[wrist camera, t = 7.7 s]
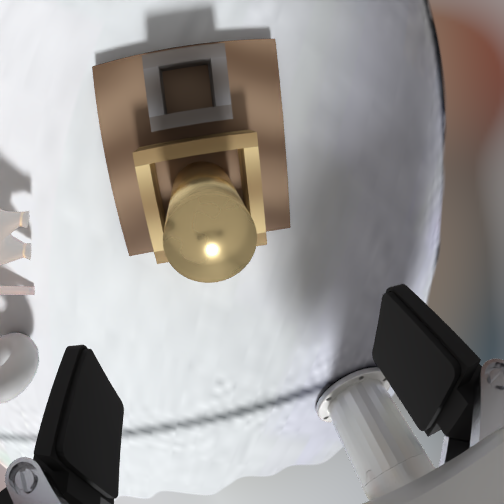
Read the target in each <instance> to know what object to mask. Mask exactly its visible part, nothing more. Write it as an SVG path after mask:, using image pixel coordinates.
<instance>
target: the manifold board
mask: <svg viewBox="0 0 504 504" xmlns="http://www.w3.org/2000/svg"><path fill="white" fill-rule="evenodd" d="M92 69H93V79H94V88H95V96H96V104H97V111H98V117H99V124H100V130H101V136H102V142H103V147H104V153H105V158H106V163H107V168H108V173H109V177H110V182H111V187H112V191H113V195H114V200H115V204H116V208H117V212H118V216H119V220H120V224H121V227H122V231H123V235H124V239H125V242H126V246H127V249H128V253H129V256H132V255H138V254H143V253H148V252H154V254H155V257H156V261H157V264H160V263H165V262H169V261H168V259H167V257H166V255H165V252H164V248H163V232H164V227H165V222H166V216H167V211H168V206H169V201H170V197H171V192H172V187H173V183H174V180H175V178H176V176H177V174H178V173H179V172H180V170H182V169H183V168H184V167H185V166H187V165H189V164H191V163H193V162H197V161H208V162H212V163H214V164H216V165H218V166H220V167H221V168H222V169H223V170H224V171H225V172H226V174H227V175H228V177H229V179H230V180H231V182H232V184H233V186H234V187H235V189H236V191H237V193H238V194H239V196H240V198H241V200H242V201H243V203H244V205H245V207H246V208H247V210H248V212H249V214H250V215H251V217H252V219H253V221H254V224H255V227H256V231H257V245H256V246H260V245H266V244H267V238H266V232H267V231H273V230H279V229H285V228H290V211H289V193H288V177H287V163H286V149H285V136H284V124H283V112H282V101H281V90H280V80H279V70H278V60H277V51H276V42H275V39H251V40H234V41H222V42H212V43H203V44H195V45H188V46H181V47H175V48H169V49H163V50H158V51H153V52H148V53H143V54H139V55H134V56H130V57H126V58H122V59H118V60H114V61H110V62H107V63H103V64H100V65H96V66H93V67H92Z"/></svg>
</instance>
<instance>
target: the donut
mask: <svg viewBox="0 0 504 504" xmlns="http://www.w3.org/2000/svg"><path fill="white" fill-rule="evenodd" d="M38 363H39V355H38V349H37V346H36V345H35V343H34V342H33V340H32V339H31V338H30V337H29V336H27V335H25V334H22V333H9V334H6V335H3V336H1V337H0V404H1V403H6V402H8V401H10V400H12V399H14V398H16V397H17V396H18V395H19V394H21V393H22V392H23V391H24V390H25V389H26V388H27V386H28V385H29V384H30V383H31V381H32V379H33V378H34V376H35V374H36V371H37V367H38Z"/></svg>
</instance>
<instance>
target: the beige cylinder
mask: <svg viewBox="0 0 504 504" xmlns="http://www.w3.org/2000/svg"><path fill="white" fill-rule="evenodd" d="M256 245H257V231H256V227H255V224H254V221H253V219H252V217H251V215H250V214H249V212H248V210H247V208H246V207H245V205H244V203H243V201H242V200H241V198H240V196H239V194H238V193H237V191H236V189H235V187H234V186H233V184H232V182H231V180H230V179H229V177H228V175H227V174H226V172H225V171H224V170H223V169H222V168H221V167H220V166H218V165H216V164H214V163H212V162H208V161H197V162H193V163H191V164H189V165H187V166H185V167H184V168H183V169H182V170H180V172H179V173H178V174H177V176H176V178H175V180H174V183H173V187H172V192H171V197H170V201H169V206H168V211H167V216H166V222H165V227H164V232H163V248H164V252H165V255H166V257H167V259H168V261H169V263H170V264H171V266H172V267H173V268H174V269H175V270H176V271H177V272H179V273H180V274H181V275H183V276H184V277H186V278H188V279H191V280H194V281H198V282H205V283H212V282H219V281H223V280H226V279H229V278H231V277H233V276H234V275H236V274H237V273H239V272H240V271H241V270H243V269H244V268H245V266H246V265H247V264H248V263H249V261H250V260H251V258H252V256H253V254H254V252H255V249H256Z"/></svg>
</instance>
